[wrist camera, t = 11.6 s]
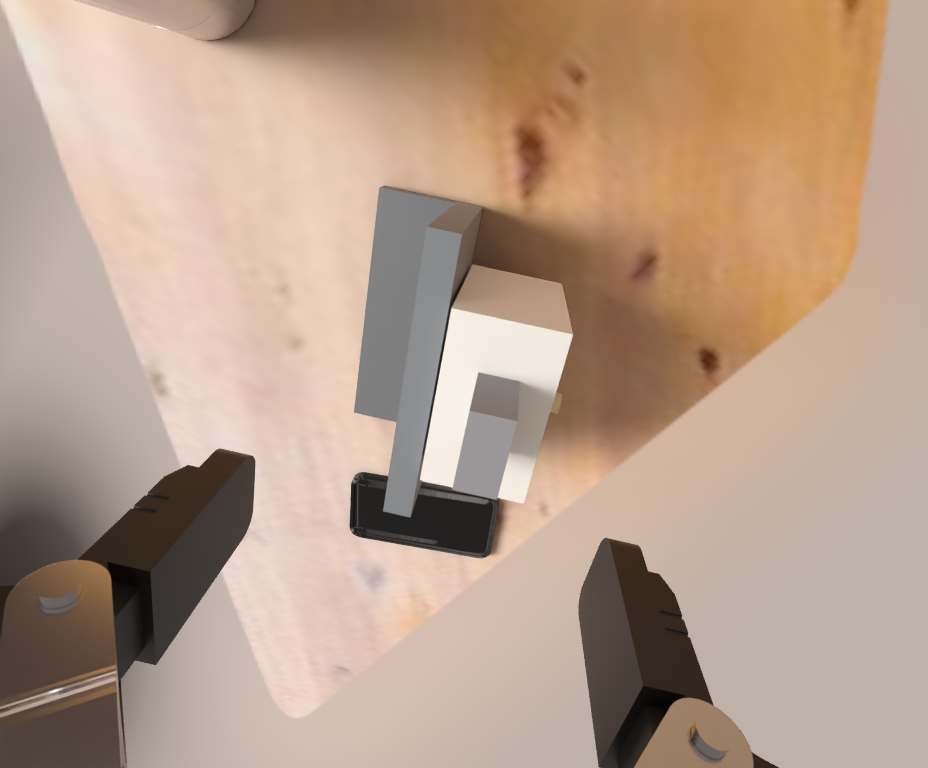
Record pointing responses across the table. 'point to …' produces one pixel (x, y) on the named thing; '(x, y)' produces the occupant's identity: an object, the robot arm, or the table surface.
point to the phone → (425, 518)
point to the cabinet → (497, 383)
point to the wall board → (411, 322)
